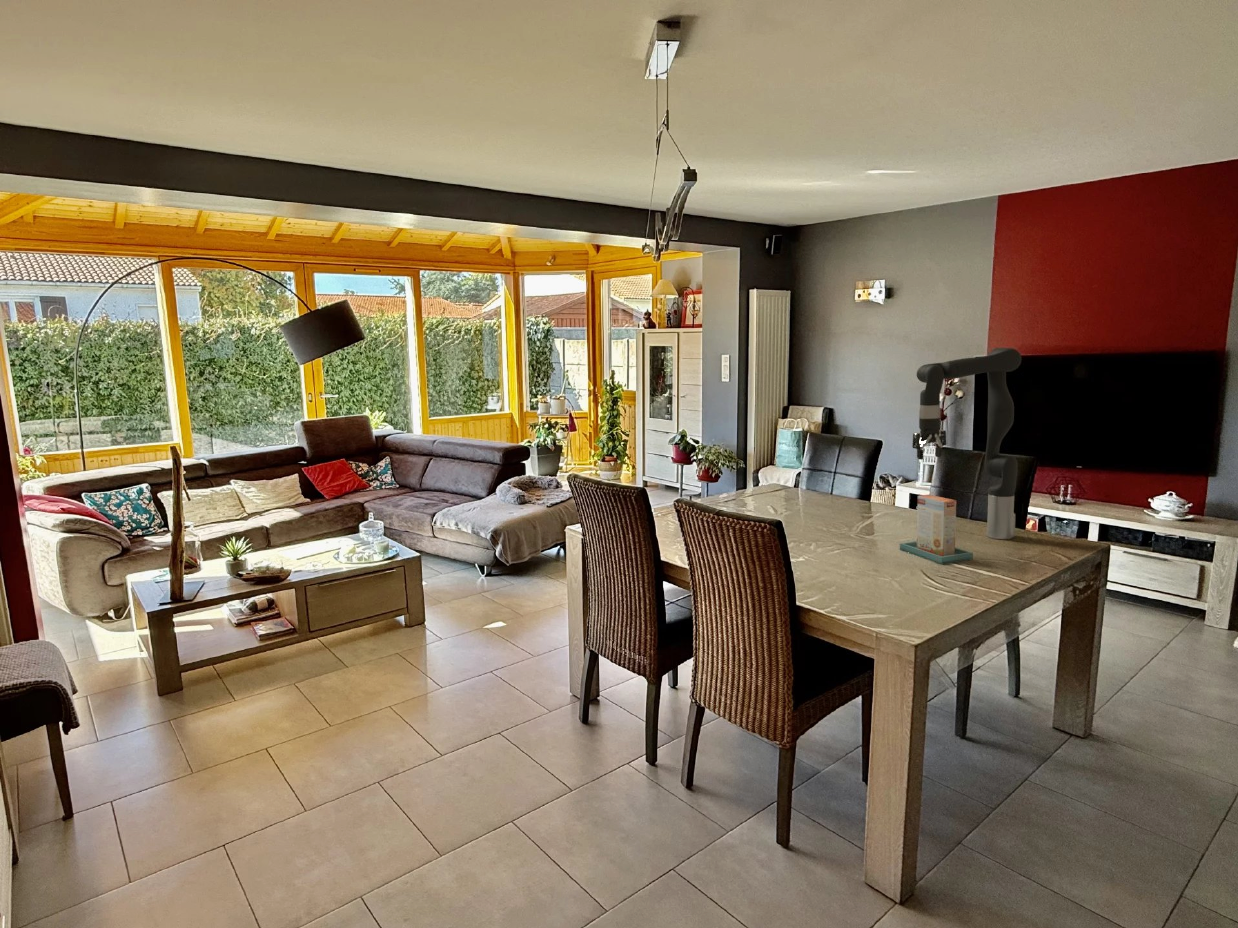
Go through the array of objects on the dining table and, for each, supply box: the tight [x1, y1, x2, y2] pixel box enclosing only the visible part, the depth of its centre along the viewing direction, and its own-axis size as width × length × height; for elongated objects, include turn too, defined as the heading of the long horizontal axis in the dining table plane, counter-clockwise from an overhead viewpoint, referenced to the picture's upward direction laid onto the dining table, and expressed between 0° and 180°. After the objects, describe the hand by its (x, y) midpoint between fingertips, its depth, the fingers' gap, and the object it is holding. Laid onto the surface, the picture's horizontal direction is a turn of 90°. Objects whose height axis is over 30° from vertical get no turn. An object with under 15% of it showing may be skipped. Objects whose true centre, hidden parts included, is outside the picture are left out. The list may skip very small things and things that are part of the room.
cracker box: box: [916, 494, 957, 556], centre depth 273 cm, size 14×6×21 cm, turn 18°
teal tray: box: [899, 540, 974, 565], centre depth 274 cm, size 14×22×2 cm, turn 19°
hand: (929, 458), depth 285 cm, fingers open, 8 cm apart
